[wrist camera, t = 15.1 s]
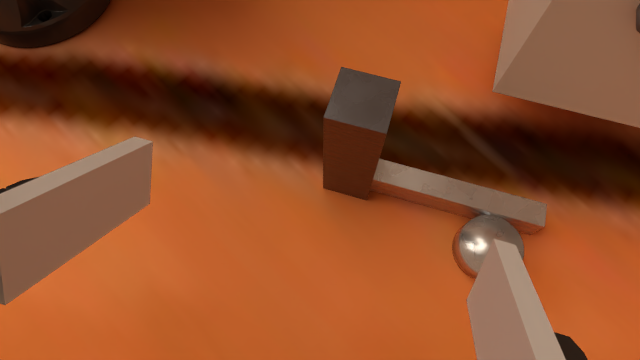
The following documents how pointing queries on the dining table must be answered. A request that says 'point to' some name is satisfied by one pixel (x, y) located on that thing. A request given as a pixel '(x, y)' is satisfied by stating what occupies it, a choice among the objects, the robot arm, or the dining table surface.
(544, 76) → the cabinet
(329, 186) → the tool
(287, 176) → the dining table surface
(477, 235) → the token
